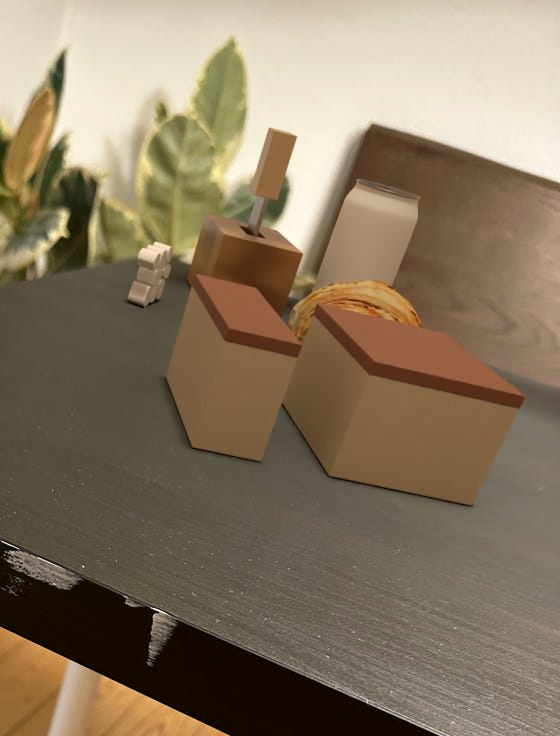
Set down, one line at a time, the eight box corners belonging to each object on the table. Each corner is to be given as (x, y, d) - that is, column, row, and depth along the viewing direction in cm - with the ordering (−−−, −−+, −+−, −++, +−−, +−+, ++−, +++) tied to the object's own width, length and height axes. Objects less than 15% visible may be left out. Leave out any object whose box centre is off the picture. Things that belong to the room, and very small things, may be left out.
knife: (238, 299, 89) (290, 132, 81) (244, 307, 86) (298, 136, 79) (217, 294, 88) (267, 126, 81) (223, 303, 86) (275, 130, 78)
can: (358, 344, 84) (414, 199, 78) (292, 319, 87) (341, 176, 80) (379, 336, 89) (434, 199, 83) (316, 313, 92) (365, 178, 85)
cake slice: (224, 390, 63) (256, 288, 59) (261, 462, 53) (303, 344, 49) (165, 377, 62) (195, 273, 59) (191, 447, 52) (229, 327, 49)
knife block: (256, 296, 92) (277, 230, 89) (279, 324, 84) (303, 253, 80) (186, 279, 91) (205, 212, 88) (202, 306, 83) (224, 233, 79)
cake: (403, 429, 65) (445, 333, 62) (471, 506, 55) (526, 396, 52) (281, 402, 64) (316, 302, 60) (328, 476, 54) (374, 361, 50)
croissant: (354, 462, 67) (450, 382, 63) (255, 359, 66) (346, 270, 62) (366, 384, 85) (442, 318, 81) (288, 301, 84) (360, 229, 79)
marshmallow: (142, 307, 77) (157, 250, 75) (126, 302, 77) (140, 245, 75) (162, 300, 81) (177, 245, 79) (147, 294, 81) (161, 240, 79)
